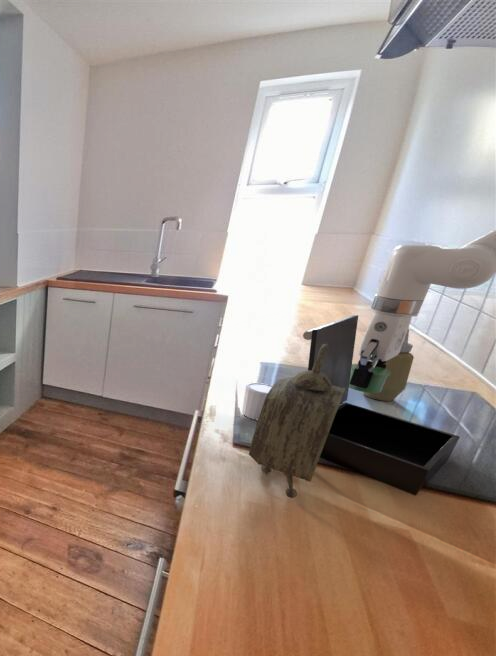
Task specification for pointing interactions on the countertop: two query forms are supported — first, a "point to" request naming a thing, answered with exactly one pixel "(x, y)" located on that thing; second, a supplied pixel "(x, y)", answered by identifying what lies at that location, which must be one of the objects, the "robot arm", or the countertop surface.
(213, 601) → the countertop surface
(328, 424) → the tan textured upright piece
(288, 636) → the countertop surface
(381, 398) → the squeeze bottle
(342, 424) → the black rectangular tray
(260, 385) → the white short cylinder
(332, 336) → the lid
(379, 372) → the pot
